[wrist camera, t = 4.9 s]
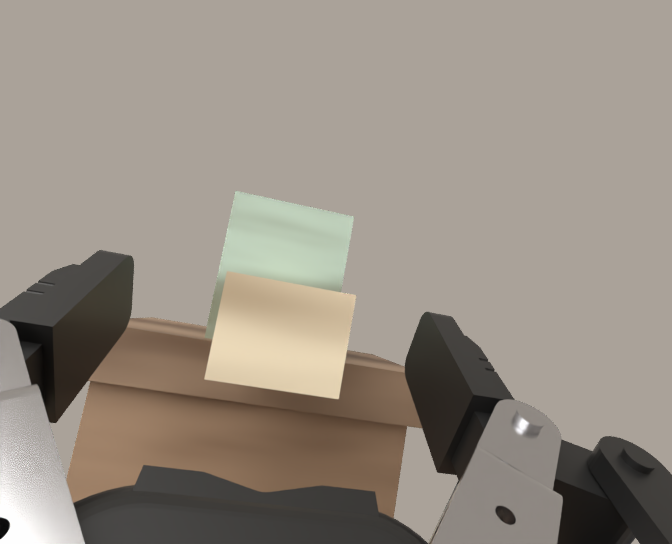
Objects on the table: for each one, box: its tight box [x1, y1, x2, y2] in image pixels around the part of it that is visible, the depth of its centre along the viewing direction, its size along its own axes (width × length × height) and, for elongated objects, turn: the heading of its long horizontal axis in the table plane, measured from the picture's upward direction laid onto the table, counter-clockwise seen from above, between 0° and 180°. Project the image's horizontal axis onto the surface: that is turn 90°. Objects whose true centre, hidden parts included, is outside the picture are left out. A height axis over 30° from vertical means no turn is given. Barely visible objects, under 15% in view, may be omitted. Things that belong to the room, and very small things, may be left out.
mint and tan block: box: [204, 191, 356, 399], centre depth 15 cm, size 14×5×6 cm, turn 10°
